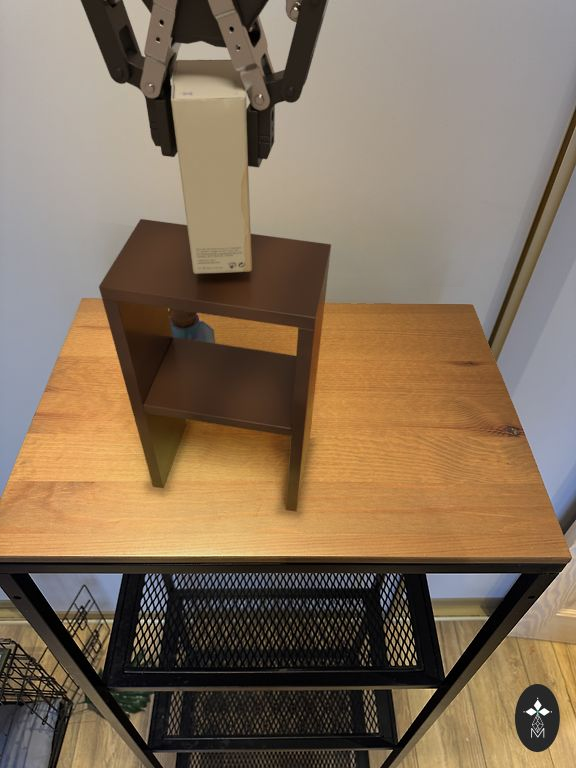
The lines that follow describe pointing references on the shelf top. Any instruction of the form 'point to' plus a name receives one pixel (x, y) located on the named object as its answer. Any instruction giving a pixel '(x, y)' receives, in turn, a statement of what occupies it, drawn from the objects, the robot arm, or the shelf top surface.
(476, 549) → the shelf top surface
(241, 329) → the shelf top surface
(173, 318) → the perfume bottle
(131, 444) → the shelf top surface
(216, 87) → the cosmetic box
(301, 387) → the walnut shelf
